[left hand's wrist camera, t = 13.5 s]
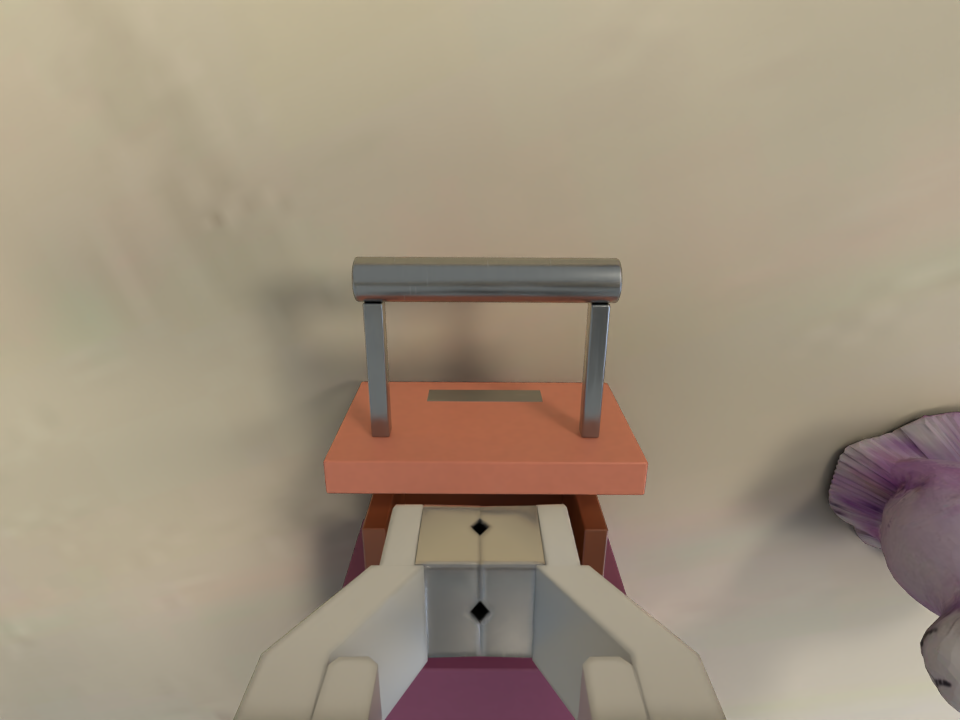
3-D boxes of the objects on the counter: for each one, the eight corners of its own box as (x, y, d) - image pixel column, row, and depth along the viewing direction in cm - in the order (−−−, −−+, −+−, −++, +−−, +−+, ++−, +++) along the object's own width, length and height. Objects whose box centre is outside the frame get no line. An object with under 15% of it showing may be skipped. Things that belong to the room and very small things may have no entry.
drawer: (350, 233, 22) (302, 270, 16) (620, 235, 22) (672, 272, 16) (385, 717, 31) (363, 854, 25) (577, 718, 31) (600, 856, 25)
